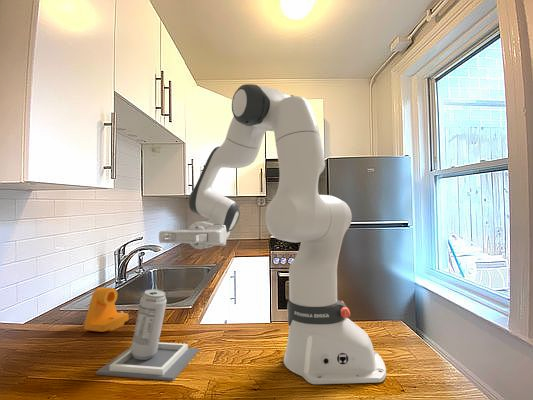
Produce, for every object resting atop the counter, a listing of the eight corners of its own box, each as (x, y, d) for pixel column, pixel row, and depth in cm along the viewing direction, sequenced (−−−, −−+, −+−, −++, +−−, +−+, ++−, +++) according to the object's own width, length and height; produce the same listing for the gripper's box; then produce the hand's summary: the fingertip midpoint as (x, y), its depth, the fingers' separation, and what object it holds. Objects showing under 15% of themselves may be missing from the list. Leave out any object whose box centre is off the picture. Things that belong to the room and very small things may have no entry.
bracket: (103, 334, 88) (104, 293, 89) (84, 332, 90) (84, 291, 91) (129, 322, 98) (130, 284, 99) (111, 320, 100) (112, 283, 101)
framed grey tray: (199, 350, 77) (199, 343, 77) (173, 380, 63) (173, 372, 63) (134, 346, 80) (134, 339, 80) (96, 374, 66) (96, 366, 66)
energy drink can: (161, 355, 73) (173, 294, 74) (140, 364, 68) (152, 298, 69) (146, 345, 77) (157, 287, 77) (124, 352, 72) (136, 290, 72)
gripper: (173, 225, 100) (146, 227, 87) (230, 225, 95) (211, 227, 82) (173, 244, 100) (146, 249, 87) (230, 245, 95) (211, 250, 82)
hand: (178, 238), depth 84 cm, fingers open, 8 cm apart
